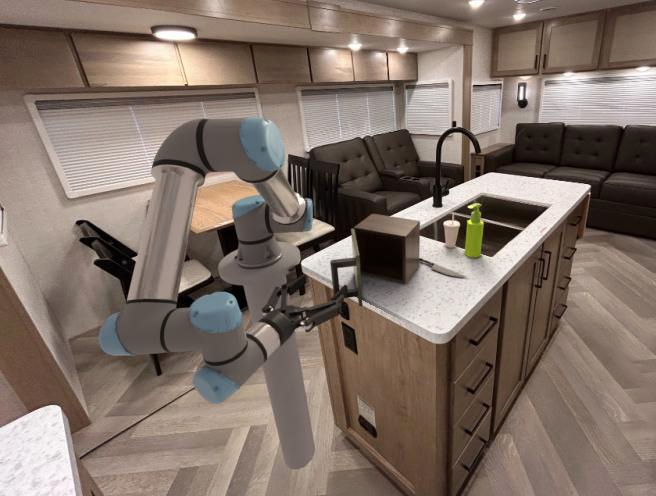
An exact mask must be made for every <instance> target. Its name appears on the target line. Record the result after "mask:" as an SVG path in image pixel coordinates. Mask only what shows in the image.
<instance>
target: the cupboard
mask: <svg viewBox="0 0 656 496" xmlns="http://www.w3.org/2000/svg"><path fill="white" fill-rule="evenodd" d="M353 229H354V230H355V236H356V241H357V246H358V251H359V257H360V273H361V275H366V276H370V277H374V278H378V279H383V280H387V281H392V282H394V283H395V282H396V283H400V284H404V285H407V283H408V281H409V280H410V278H411V277H412V276H413V275H414V273H415V272H416V270H417V269H418V267H419V266H420V261H419V258H420V251H421V250H420V247H421V245H420V243H421V220H416V219H410V218H405V217H398V216H391V215H385V214H384V215H383V214H378V213H371V214H370V215H369V216H367V217H365V218H364V219H362V221H360V222H359V223H358V224H356V225H355V226H353Z"/></svg>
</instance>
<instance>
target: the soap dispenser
mask: <svg viewBox="0 0 656 496" xmlns="http://www.w3.org/2000/svg"><path fill="white" fill-rule="evenodd" d="M480 207H482V204H481V203H478V202H476V203H472V204H470V205H468V206H467V208H468V209H469V210H473V211H472V212H471V215H470V219H467V220H466V232H465V244H464V255H465V256H466V257H469V258H474V259H475V258H479V257H481V254H482V244H483V234H484V227H485V225H484V224H485V222H484V220H482V213H481V211H480Z"/></svg>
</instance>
